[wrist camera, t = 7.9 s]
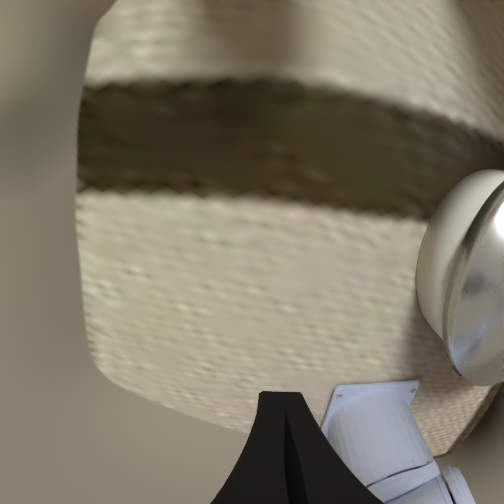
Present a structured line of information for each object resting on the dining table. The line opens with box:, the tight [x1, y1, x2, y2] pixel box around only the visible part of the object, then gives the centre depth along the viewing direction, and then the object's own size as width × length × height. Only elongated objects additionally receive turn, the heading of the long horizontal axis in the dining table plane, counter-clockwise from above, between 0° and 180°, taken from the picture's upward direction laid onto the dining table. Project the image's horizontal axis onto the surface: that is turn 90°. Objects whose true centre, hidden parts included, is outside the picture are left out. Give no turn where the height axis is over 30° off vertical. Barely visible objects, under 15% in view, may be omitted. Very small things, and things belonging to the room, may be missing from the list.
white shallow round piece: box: [416, 169, 504, 376], centre depth 16 cm, size 16×14×4 cm
